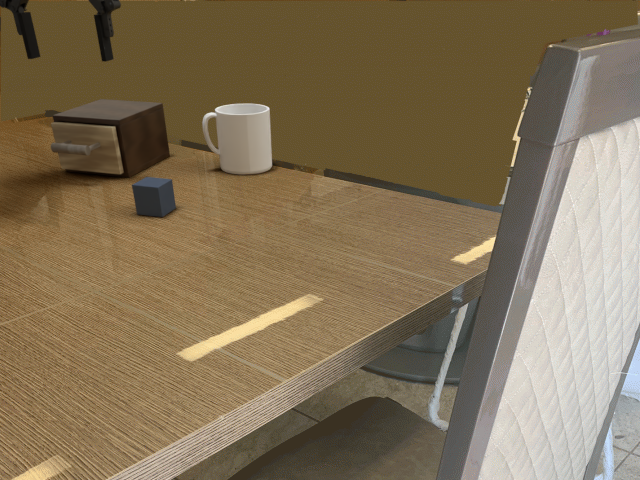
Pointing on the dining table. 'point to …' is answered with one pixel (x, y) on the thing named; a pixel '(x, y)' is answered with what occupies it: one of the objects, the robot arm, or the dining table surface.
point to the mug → (242, 138)
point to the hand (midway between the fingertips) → (70, 59)
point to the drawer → (87, 147)
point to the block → (154, 196)
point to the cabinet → (127, 130)
